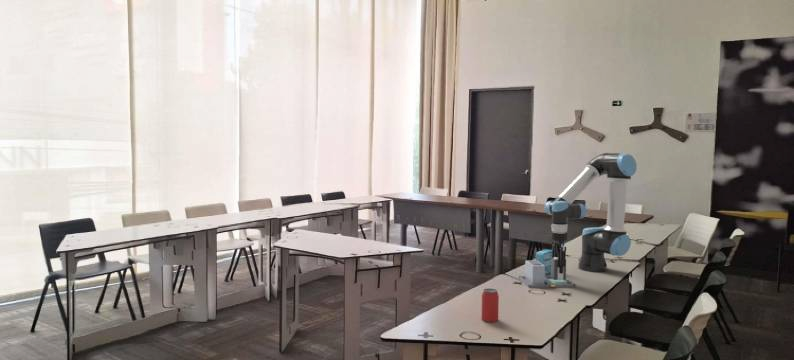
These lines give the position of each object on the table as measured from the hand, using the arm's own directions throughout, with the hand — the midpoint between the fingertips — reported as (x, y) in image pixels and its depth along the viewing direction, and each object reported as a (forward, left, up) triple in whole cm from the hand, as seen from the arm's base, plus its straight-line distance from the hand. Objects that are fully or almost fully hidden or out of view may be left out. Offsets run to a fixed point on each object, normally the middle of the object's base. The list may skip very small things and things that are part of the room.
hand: (558, 277), depth 265 cm
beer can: (+47, +52, -3) cm, 70 cm away
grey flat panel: (+6, 0, -3) cm, 7 cm away
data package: (0, -20, -3) cm, 20 cm away
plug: (0, 0, 0) cm, 0 cm away
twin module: (+12, 0, -2) cm, 12 cm away
